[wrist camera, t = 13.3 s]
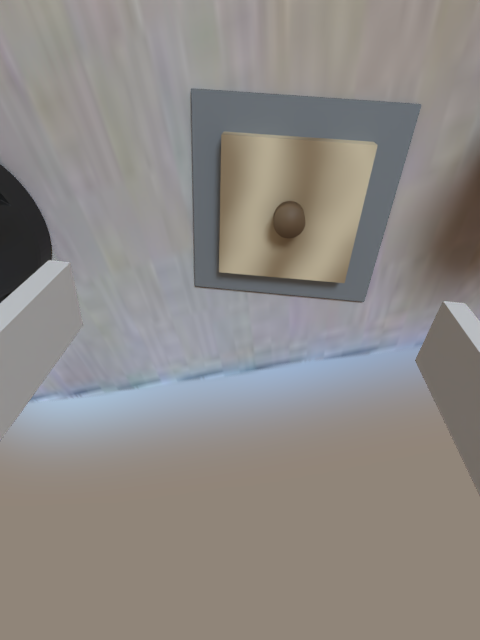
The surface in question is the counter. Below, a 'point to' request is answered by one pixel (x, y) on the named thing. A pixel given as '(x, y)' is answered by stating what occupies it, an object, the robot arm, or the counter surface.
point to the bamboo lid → (291, 204)
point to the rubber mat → (301, 121)
